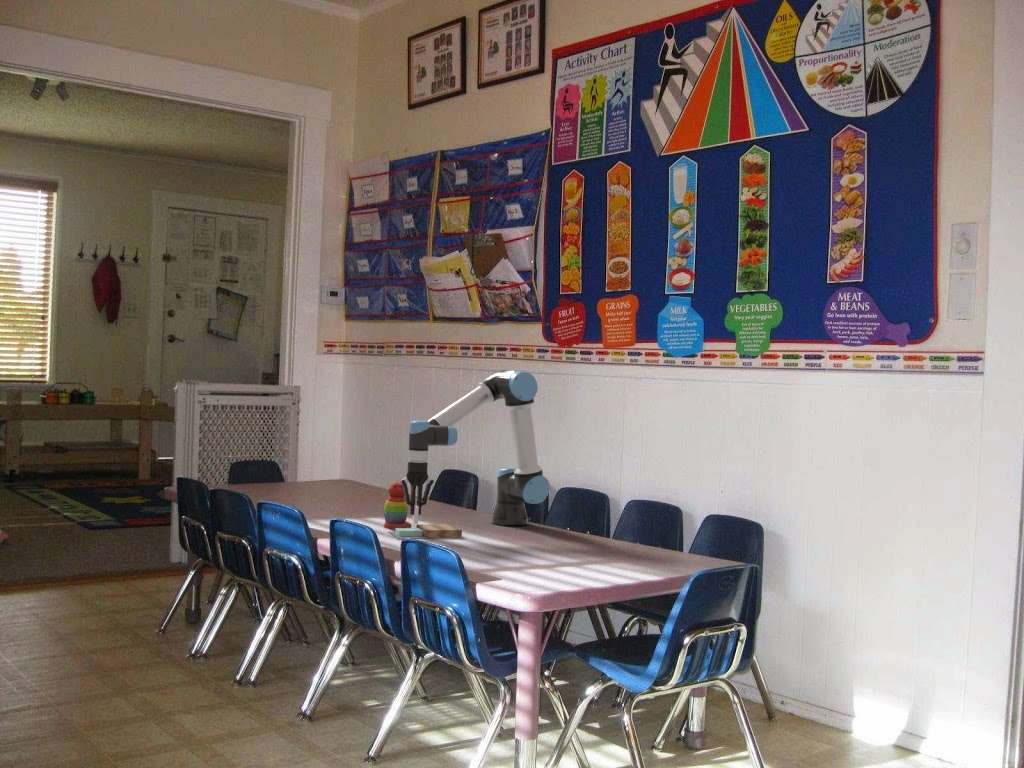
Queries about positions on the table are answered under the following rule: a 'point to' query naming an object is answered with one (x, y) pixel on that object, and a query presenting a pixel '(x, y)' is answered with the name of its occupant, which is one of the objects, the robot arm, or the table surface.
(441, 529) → the tan flat square slab
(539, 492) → the robot arm
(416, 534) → the mint green block
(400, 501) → the stacking bear
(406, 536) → the mat
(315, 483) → the table surface
